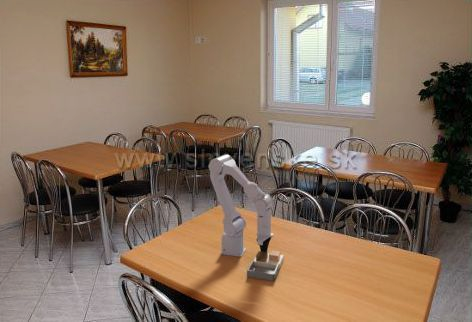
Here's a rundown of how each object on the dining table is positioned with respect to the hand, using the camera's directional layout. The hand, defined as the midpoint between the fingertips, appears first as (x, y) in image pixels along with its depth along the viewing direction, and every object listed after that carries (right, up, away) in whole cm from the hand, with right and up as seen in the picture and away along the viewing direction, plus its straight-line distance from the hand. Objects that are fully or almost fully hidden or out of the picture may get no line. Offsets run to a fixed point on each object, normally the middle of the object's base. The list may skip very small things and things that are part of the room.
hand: (264, 253), depth 169 cm
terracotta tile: (+4, -2, -3) cm, 5 cm away
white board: (+2, -3, -2) cm, 4 cm away
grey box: (-1, -6, -10) cm, 12 cm away
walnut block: (-1, -2, -3) cm, 4 cm away
